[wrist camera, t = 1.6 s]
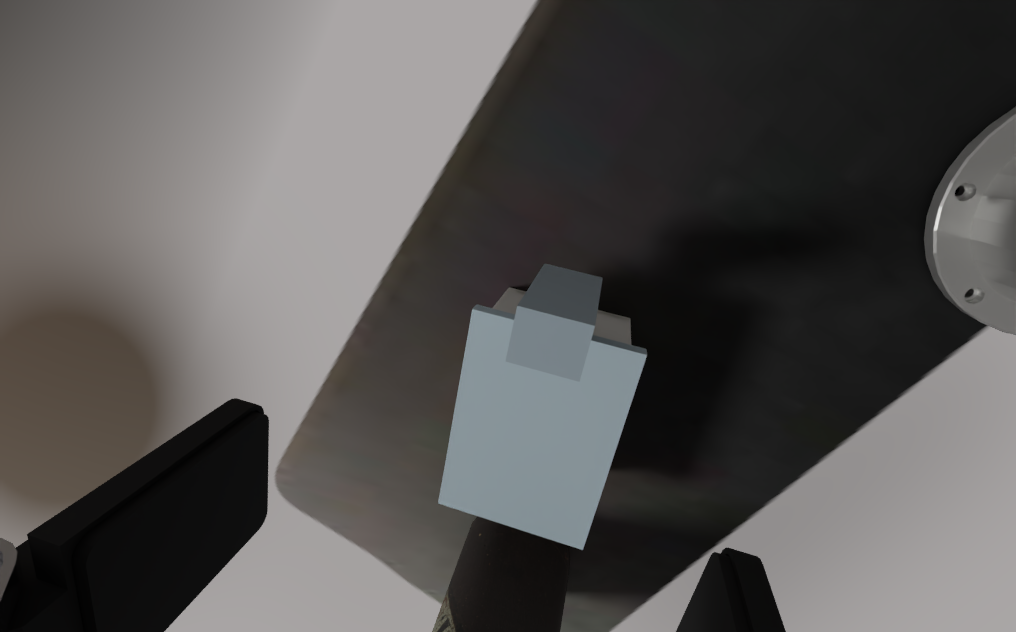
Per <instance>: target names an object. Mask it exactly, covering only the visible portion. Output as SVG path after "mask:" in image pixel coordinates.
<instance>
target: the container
mask: <svg viewBox="0 0 1016 632" xmlns="http://www.w3.org/2000/svg"><path fill="white" fill-rule="evenodd" d="M569 565H570V556H569V551H568V548H567V545H565V544H562V543H559V542H556V541H553V540H550V539H547V538H544V537H541V536H537V535H534V534H531V533H528V532H525V531H522V530H519V529H516V528H513V527H510V526H507V525H503V524H500V523H497V522H494V521H491V520H488V519H485V518H482V517H479V516H478V517H477V518H476V519H475V520H474V522H473V523H472V525H471V528H470V531H469V533H468V536H467V538H466V541H465V544H464V546H463V549H462V552H461V554H460V557H459V560H458V563H457V566H456V568H455V571H454V574H453V576H452V579H451V582H450V584H449V587H448V590H447V592H446V595H445V598H444V601H443V604H442V606H441V609H440V612H439V615H438V618H437V620H436V623H435V626H434V628H433V631H432V632H560V628H561V621H562V615H563V609H564V602H565V596H566V589H567V582H568V575H569Z"/></svg>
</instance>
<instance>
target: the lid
mask: <svg viewBox="0 0 1016 632" xmlns="http://www.w3.org/2000/svg"><path fill="white" fill-rule="evenodd" d="M602 279H603V278H602V277H598V276H593V275H589V274H585V273H581V272H577V271H573V270H569V269H565V268H561V267H557V266H553V265H549V264H544V265H543V267H542V268H541V270H540V271H539V273H538V275H537V276H536V278H535V279H534V281H533V282H532V284H531V285H530V287H529V288H528V290H527V291H526V293H525V295H524V296H523V298H522V299H521V301H520V302H519V304H518V305H517V309H516V314H511V313H507V312H504V311H500V310H496V309H492V308H488V307H485V306H481V305H476V306H475V307H474V308H473V309H472V315H471V320H470V326H469V332H468V337H467V343H466V349H465V354H464V360H463V366H462V371H461V377H460V383H459V388H458V394H457V400H456V405H455V411H454V417H453V422H452V428H451V434H450V439H449V445H448V451H447V456H446V462H445V468H444V473H443V479H442V485H441V490H440V496H439V502H438V503H439V504H442V505H445V506H448V507H451V508H454V509H457V510H460V511H463V512H466V513H469V514H473V515H476V516H479V517H482V518H485V519H488V520H491V521H494V522H497V523H500V524H503V525H507V526H510V527H513V528H516V529H519V530H522V531H525V532H528V533H531V534H534V535H537V536H541V537H544V538H547V539H550V540H553V541H556V542H559V543H562V544H565V545H568V546H571V547H575V548H578V549H581V550H583V548H584V545H585V542H586V539H587V536H588V533H589V530H590V527H591V524H592V521H593V518H594V515H595V512H596V509H597V506H598V503H599V500H600V497H601V494H602V491H603V488H604V484H605V481H606V478H607V475H608V472H609V469H610V466H611V463H612V460H613V457H614V454H615V451H616V448H617V445H618V442H619V439H620V436H621V433H622V430H623V427H624V424H625V421H626V418H627V415H628V412H629V409H630V406H631V403H632V400H633V397H634V394H635V390H636V387H637V384H638V381H639V378H640V375H641V372H642V369H643V366H644V363H645V360H646V357H647V349H645V348H641V347H637V346H633V345H629V344H626V343H622V342H618V341H614V340H610V339H607V338H603V337H599V336H595V335H593V332H594V328H595V323H596V317H597V311H598V305H599V298H600V292H601V286H602Z"/></svg>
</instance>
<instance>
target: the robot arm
mask: <svg viewBox="0 0 1016 632" xmlns="http://www.w3.org/2000/svg"><path fill="white" fill-rule="evenodd" d="M958 187H959V188H960V189H959V192H958V193H957V194H956V195H955V191H956V189H957V188H958ZM924 244H925V253H926V261H927V264H928V266H929V269H930V272H931V274H932V277H933V280H934V281H935V283H936V284H937V286H938V287H939V289H940V290H941V291H942V293H943V294H944V296H945V297H946V298H947V299H948V300H949V301H950V302H951V303H953V304H954V305H955V306H956V307H957V308H958V309H959V310H960V311H962V312H964V313H965V314H967V315H969V316H971V317H972V318H974V319H976V320H978V321H979V322H981V323H984V324H986V325H988V326H990V327H993V328H995V329H997V330H1000V331H1002V332H1006V333H1010V334H1014V335H1016V107H1015V108H1013V109H1012V110H1010V111H1009V112H1008V113H1006V114H1005V115H1003V116H1002V117H1000V118H999V119H997V120H996V121H994V122H993V123H992V124H990V125H989V126H988V127H987V128H985V129H984V130H983V131H982V132H981V133H980V134H979V135H978V136H977V137H976V138H975V139H974V140H972V141H971V142H970V143H969V144H968V145H967V146H966V147H965V148H964V150H963V151H962V152H961V153H960V155H959V156H958V157H957V158H956V160H955V161H954V162H953V163H952V165H951V166H950V167H949V168H948V170H947V172H946V173H945V175H944V177H943V179H942V180H941V182H940V184H939V186H938V188H937V189H936V191H935V193H934V196H933V199H932V202H931V205H930V208H929V211H928V214H927V217H926V226H925V234H924ZM967 291H968V292H967ZM966 292H967V293H966ZM965 293H966V294H965ZM268 430H269V420H268V417H267V415H265V414H264V411H263V408H262V407H261V406H259V405H256V404H253V403H250V402H246V401H243V400H240V399H231V400H229V401H227V402H226V403H224V404H223V405H221V406H220V407H218V408H217V409H215V410H214V411H212V412H211V413H209V414H208V415H206V416H205V417H203V418H202V419H200V420H199V421H197V422H196V423H194V424H193V425H191V426H190V427H188V428H187V429H185V430H184V431H182V432H181V433H179V434H177V435H176V436H174V437H173V438H172V439H170V440H168V441H167V442H166V443H164V444H162V445H161V446H160V447H158V448H156V449H155V450H154V451H152V452H150V453H149V454H147V455H146V456H144V457H143V458H141V459H140V460H139V461H137V462H135V463H134V464H132V465H131V466H129V467H128V468H126V469H125V470H123V471H122V472H120V473H119V474H117V475H116V476H114V477H113V478H111V479H110V480H108V481H107V482H105V483H104V484H102V485H101V486H99V487H98V488H96V489H95V490H93V491H92V492H90V493H89V494H87V495H86V496H84V497H83V498H81V499H80V500H78V501H77V502H75V503H74V504H72V505H71V506H69V507H68V508H66V509H65V510H63V511H61V512H60V513H58V514H57V515H55V516H54V517H53V518H51V519H49V520H48V521H46V522H45V523H43V524H42V525H40V526H39V527H37V528H36V529H34V530H33V531H32V532H30V533H28V534H27V536H28V540H27V541H25V542H24V543H22V544H21V545H19V546H18V547H16V548H15V547H14V545H13V544H12V543H11V542H8V541H6V540H4V539H2V538H0V632H164V631H165V630H166V629H167V628H168V627H169V625H170V624H172V623H173V621H174V620H175V619H176V618H177V617H178V616H179V615H180V614H181V613H182V612H183V611H184V610H185V609H186V607H187V606H188V605H189V604H190V603H191V602H192V601H193V600H194V599H195V598H196V597H197V595H199V593H200V592H201V591H202V590H203V589H204V588H205V587H206V586H207V585H208V584H209V583H210V582H211V580H212V579H213V578H214V577H215V576H216V575H217V574H218V573H219V572H220V571H221V570H222V568H224V567H225V565H226V564H227V563H228V562H229V561H230V560H231V559H232V558H233V557H234V556H235V554H236V553H237V552H238V551H239V550H240V549H241V548H242V547H243V546H244V545H245V544H246V543H247V542H248V541H249V540H250V539H251V537H252V536H253V535H254V534H255V533H256V532H257V531H258V530H259V529H260V527H261V526H262V524H263V522H264V520H265V518H266V515H267V501H268V500H267V498H268V436H269V435H268V434H269V432H268ZM676 632H786V631H785V628H784V625H783V622H782V620H781V617H780V614H779V611H778V608H777V605H776V602H775V599H774V596H773V593H772V590H771V587H770V584H769V581H768V579H767V575H766V572H765V569H764V566H763V564H762V562H761V560H760V558H758V557H757V556H753V555H750V554H747V553H744V552H740V551H737V550H734V549H731V548H725V549H724V550H723V551H722V553H721V554H719V553H716V552H714V553H713V554H712V555H711V557H710V559H709V561H708V563H707V565H706V567H705V569H704V572H703V574H702V576H701V578H700V581H699V583H698V585H697V587H696V589H695V591H694V593H693V596H692V598H691V600H690V602H689V604H688V607H687V609H686V611H685V613H684V615H683V617H682V620H681V622H680V624H679V626H678V628H677V631H676Z"/></svg>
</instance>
